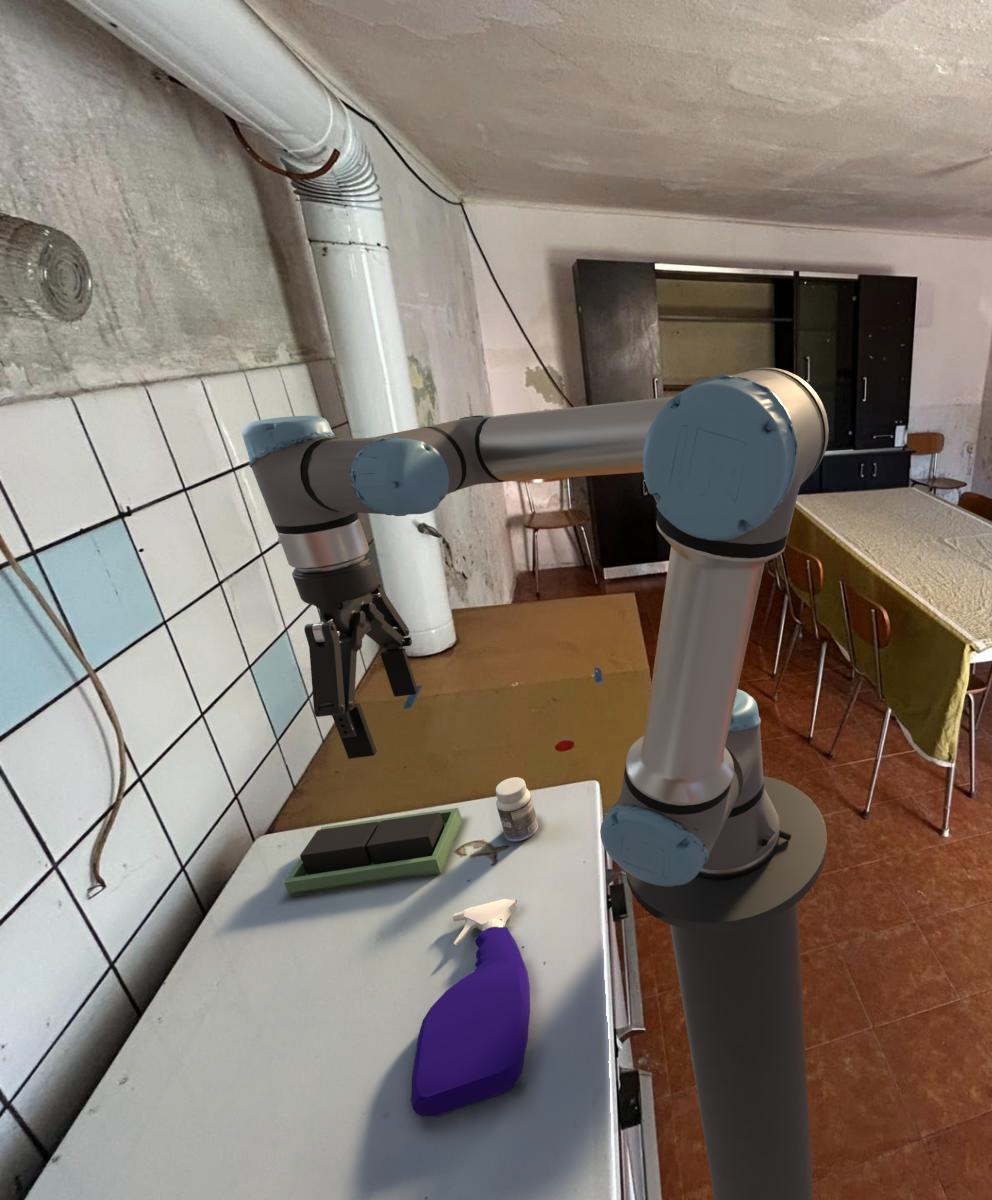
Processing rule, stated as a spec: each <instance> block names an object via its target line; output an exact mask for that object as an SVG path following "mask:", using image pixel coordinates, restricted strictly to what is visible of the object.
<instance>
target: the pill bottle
mask: <svg viewBox="0 0 992 1200" xmlns="http://www.w3.org/2000/svg"><path fill="white" fill-rule="evenodd" d="M495 795H496V798H497V799H496V803H495V805H496V809H497V813H498V816H499V820H500V824H501V827H502V830H503V833H504V836H505V838H506V839H507V840H508V841H511V842H521V841H524V840H526V839H529V838H530V837H532V836H533V835H534V834H535V833H536V832H537V830H538V829H539V828H538V827H539V822H538V817H537V813H536V810H535V806H534V802H533V798H532V793H531V792H530V790H529V789H528V788H527V785H526V782H525V779H523V778H522V777H508V778H506V779H504V780H501V781H500V782H499V783H498V784H497V785H496V786H495Z"/></svg>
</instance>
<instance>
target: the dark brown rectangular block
mask: <svg viewBox="0 0 992 1200" xmlns="http://www.w3.org/2000/svg"><path fill="white" fill-rule="evenodd" d="M378 825H379V824H378V822H370V823H364V824H357V825H350V826H343V827H336V828H329V829H322V830H320V829H317V830H316V831H315V833H314V834H313V836H312V837H311V839H310V840H309V842H308V843H307V844H306V846H305V847H304V849H303V850H302V852H301V853H300V854H299V857H300V858H301V860H302V862H303V864H304V866H305V869H306V871H307V873H308V875H310V874H316V873H323V872H329V871H336V870H342V869H349V868H355V867H362V866H368V865H371V863H372V861H373V860H372V858H371V855H370V853H369V850H368V848H367V844H368V843H369V841H370V839H371V837H372V836H373V834H374V832H375V831H376V829H377V827H378Z"/></svg>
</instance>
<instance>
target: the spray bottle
mask: <svg viewBox="0 0 992 1200" xmlns="http://www.w3.org/2000/svg"><path fill="white" fill-rule="evenodd" d="M516 910H518V905H517V901H516V900H515V899H507V898H502V899H499V900H494V901H491V902H486V903H483V904H480V905H476V906H475V905H474V906H471V907H468V908H465V909H464V910H462V911H459V912H454V913H453V916H452V920H453V922H454V923H456V922H459V921H460V922H461V921H465V925H464V927H463V928H462V930H461V931H460V933H459V935H458V936H457V937H456V939H455V941H454V942H453V946H454V947H457V946H458V945H459V944H460V943H461V942H462V941H463V940H464V939H465V938H466V937H467V936H468V935H469V934H470V933H471V932H472V931H473V929H475V928H476V929H478V930H479V931H480V932H479V934H478V935H477V936H476V938H475V939H474V944H475V946H476V947H477V950H476V952H475V958H476V962H475V964H474V966H475V969H474V971H472V972H471V973H469V974H467V975H466V976H464V977H463V978H461V979H460V980H459V981H457V982H456V983H455V984H453V985H452V986H450V987H449V988H447V989H446V990H445V991H444V992H443V994H442V995H441V996H440V997H439V998H438V999H437V1000H436V1001H435V1002H434V1003H433V1004H432V1006H431V1007H430V1008H429V1009H428V1011H427V1013H426V1014H425V1016H424V1017H423V1019H422V1021H421V1025H420V1029H419V1032H418V1035H417V1042H416V1048H415V1054H414V1061H413V1067H412V1072H411V1073H412V1074H411V1087H410V1105H411V1107H412V1110H413V1111H414V1113H415V1114H416V1115H418V1116H421V1117H438V1116H441V1115H444V1114H446V1113H450V1112H452V1111H456V1110H458V1109H461V1108H464V1107H467V1106H470V1105H473V1104H477V1103H478V1102H481V1101H484V1100H488V1099H490V1098H493V1097H496V1096H499V1095H502V1094H505V1093H508V1092H509V1091H510V1090H511V1089H513V1088H514V1087H515V1086H516V1084H517V1082H518V1081H519V1079H520V1077H521V1075H522V1073H523V1068H524V1062H525V1058H526V1057H525V1056H526V1052H527V1046H528V1040H529V1029H530V1019H531V1018H530V1016H531V990H530V989H531V987H530V979H529V972H528V969H527V967H526V965H525V962H524V959H523V956H522V955H521V954H522V953H521V951H520V949H519V947H518V945H517V943H516V940H515V939H514V937H513V935H512V934H511V932H510V930H509V929H508V927H505V926H506V923H507V920H508V919H509V918H510V917H511V915H512V914H513V913H515V911H516Z"/></svg>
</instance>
